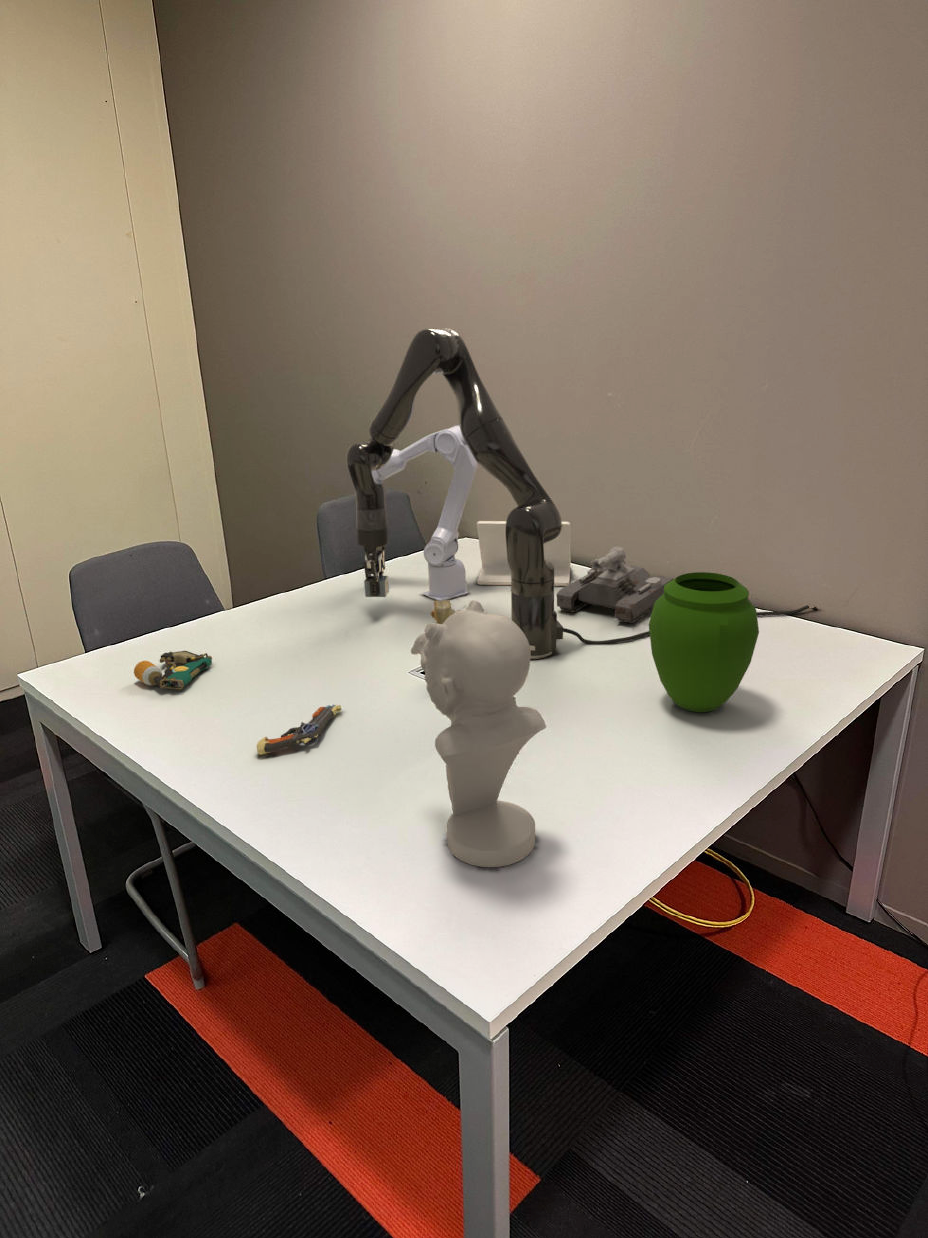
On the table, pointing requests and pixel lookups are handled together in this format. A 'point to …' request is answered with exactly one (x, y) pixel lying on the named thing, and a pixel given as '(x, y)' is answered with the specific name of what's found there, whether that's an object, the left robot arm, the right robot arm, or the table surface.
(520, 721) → the bust sculpture
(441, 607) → the sculpture
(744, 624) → the vase
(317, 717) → the toy gun
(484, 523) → the tablet stand
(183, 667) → the spray gun
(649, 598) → the toy
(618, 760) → the table surface
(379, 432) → the right robot arm
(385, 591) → the block
